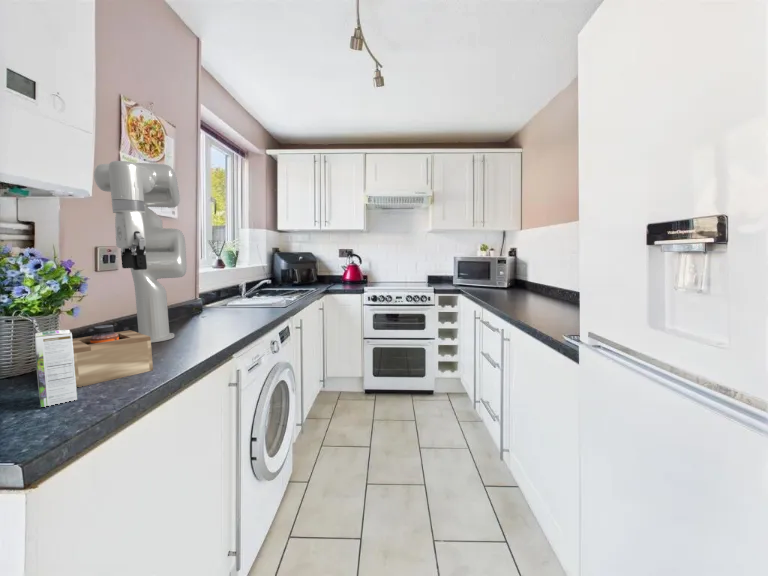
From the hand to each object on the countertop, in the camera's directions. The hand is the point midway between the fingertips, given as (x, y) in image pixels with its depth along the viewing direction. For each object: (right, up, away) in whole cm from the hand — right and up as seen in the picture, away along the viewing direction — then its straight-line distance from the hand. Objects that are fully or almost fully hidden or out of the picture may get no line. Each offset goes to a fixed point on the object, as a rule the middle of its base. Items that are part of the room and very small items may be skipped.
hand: (134, 268), depth 106 cm
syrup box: (+4, -29, -29) cm, 41 cm away
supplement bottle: (0, -27, -10) cm, 29 cm away
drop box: (0, -27, -10) cm, 29 cm away
